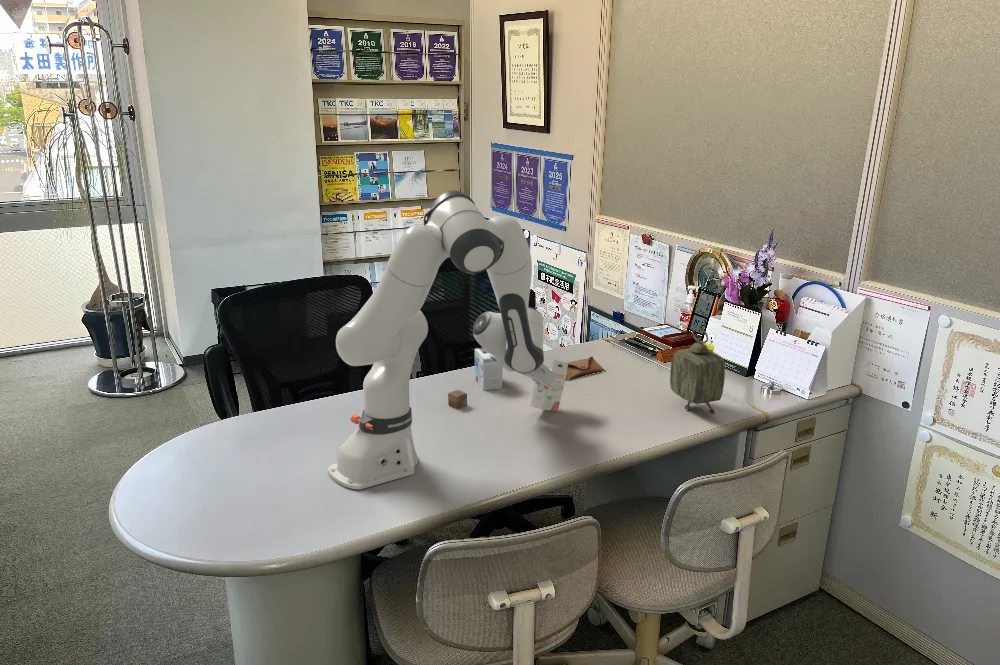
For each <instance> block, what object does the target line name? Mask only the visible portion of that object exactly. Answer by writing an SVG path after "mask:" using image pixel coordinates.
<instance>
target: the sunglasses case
mask: <svg viewBox="0 0 1000 665" xmlns="http://www.w3.org/2000/svg"><path fill="white" fill-rule="evenodd" d="M567 363H568V367H567V374H566V379H565V381H566V382H570V381H572V380H576V379H580V378H583V377H586V375H587V376H590V374H591V375H594V374H593V373H595V374H598V373H597V372H600V373H603V372H602V371H605V370H606V369H604V368H603V367H602V366H601V365H600V364H599V363H598V362H597V361H596V360H595V359H594V357H593V356H590V357H587V358H583V359H579V360H572V361H570V362H567ZM558 367H563V366H562V365H561V364H560V365H558ZM605 372H606V371H605ZM582 376H583V377H582ZM579 377H580V378H579Z"/></svg>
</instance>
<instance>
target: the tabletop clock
mask: <svg viewBox="0 0 1000 665" xmlns="http://www.w3.org/2000/svg"><path fill="white" fill-rule="evenodd" d="M697 330H698V331H701V332H702V333H703V334H704V335H705V338H706V340H702V339H703V338H702V337H700V336H699V337H697V336H696V335H695V331H697ZM692 337H693V339H694V340H695V341H696V342H695V343H693V344H692V345H691V346H690V348H684V349H678V350H676V351H675V352H674V353H673V355H672V358H671V363H670V377H669V378H670V379H669V386H670V389H671V392H673V393H674V394H676V395H677V396H679V397H680V398H682V399H683V400H686V401H687V404H686V405H685V406H684V409H685V410H686V409H690V410H691V408H692V407H691V406H690V405H691V403H693V404H694V405H700V404H705V405H706V406H707V408H708V409H709V411H708V412H709V414H710V413H711V414H710V415H715V412H716V410H715V408H712V407H711V405H710V403H711V402H716V401H717V402H718V401H720V400H721V399H722V396H723V393H724V386H725V378H726V377H725V376H726V363H725V360H724V359H723V357H722V356H721V355H719V354H718V353H716V352H715V351H713V350H711V349H709V348H708V346H707V345H706V343H708V341H709V336H708V333H707V331H706V330H705V329H703V328H701V327H695V328H693V330H692Z"/></svg>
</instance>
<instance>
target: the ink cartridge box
mask: <svg viewBox="0 0 1000 665" xmlns="http://www.w3.org/2000/svg"><path fill="white" fill-rule="evenodd" d="M552 362H553V363H552V366H551V368H549V369H550V370H551V371H552V372H553V373H555V375H556V378H555V380H554V382H553V383H552V384H551V385H550V386H548V385H545V384H540V383H538V382H536V381H534V387H533V392H532V396H531V400H530V405H529V406H530V407H534V408H536V409H540V410H543V411H544V410H545V411H553V412H559V408H560V404H561V399H562V397H563V396H562V395H563V391H564V386H565V382H566V380H565V379H566V374H567V367H568V363H569V362H567V361H562V360H557V359H553V361H552ZM560 364H561V365H562V366H563V367H558V365H560Z"/></svg>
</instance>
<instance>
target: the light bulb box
mask: <svg viewBox="0 0 1000 665" xmlns="http://www.w3.org/2000/svg"><path fill="white" fill-rule="evenodd" d="M489 355H490V354H489V353H488V352H487V351H486V350H485V349H484V348H483V347H481V348H474V380H475V382H476V383H477V384H478V386H479V387H480V388H481V389H482V391H489V390H497V389H498V390H499V389H503V371H504V370H503V369H504V367H503V366H501V365H500V364H499V363H498V362H497V361H495V360H493V359H492V358H491V357H490V356H489Z"/></svg>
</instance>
